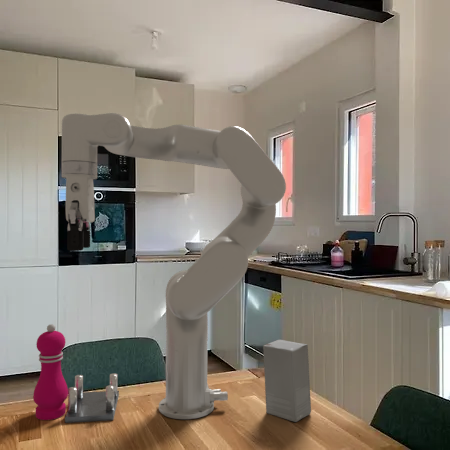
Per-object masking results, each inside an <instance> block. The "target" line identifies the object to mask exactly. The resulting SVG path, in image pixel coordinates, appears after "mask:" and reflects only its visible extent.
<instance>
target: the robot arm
mask: <svg viewBox="0 0 450 450" xmlns="http://www.w3.org/2000/svg"><path fill="white" fill-rule="evenodd" d="M99 146H100V147H104V149H106V150H107V151H108V152H110V153H112V154H115V155H119V156H126V157H131V158H136V159H137V158H138V159H146V160H153V161H154V160H155V161H165V162H176V163H183V164H184V163H185V164H189V165H198V166H204V167H207V168H208V167H209V168H216V169H223V170H230V172H231V173H232V175H234V176H235V177H234V178H236V179H237V180H238V183H239V184H241V185H240V195H241V199H242V206H241V209H240V212H239V213H238V215H237V216H236V217H234V219H233V220H232V221H231V222H230V223H229V224H228V225H227V227H225V228H224V229H223V230H222V231H221V232H220V233H219V234H218V235H217V236H215V238H213V240H211V241H210V242H208V243H207V245H206V246H205V247H204V248H203V249H202V252H201V255H200V257H199V258H197V260H195V262H194V263H193V264H192V265H191V266H190V267H189V268H188V269H184V270H183V269H182V270H181V271H178V272H176V273H174V274H173V275H172V276H170V278H169V280H168V282H167V284H166V287H165V288H166V289H165V318H166V319H165V323H166V324H165V331H166V332H165V397H164V398H162V399H161V400H160V401H159V403H158V411H159V412H160V414H161V415H163V416H165V417H167V418H170V419H176V420H193V419H194V420H195V419H199V418H203V417H205V416H207V415H209V414H211V413H212V412H213V411H214V409H215V408H214V407H215V403H214V402H215V401H220V402H222V401H228V398H229V395H228V391H221V388H217V389H211V388H209V384H208V339H209V327H208V326H209V325H208V324H209V321H208V313H209V312H210V311H212V309H214V308H215V306H216V305H217V304H218V303H219V302H221V300H222V299H223V298H224V297H225V296H226V295H228V293H230V291H232V289H233V288H235V286H237V285H238V283H240V281H241V280H242V278H244V277H245V276H244V275H245V274H246V273H247V270H248V267H249V257H250V256H251V255H252V254H253V253H254V252H255V251H256V250H257V249H258V248H259V246H260V245H261V244H262V243H264V241H265V240H266V239H267V237H268V236H269V235H270V233H271V231H272V229H273V227H274V224H275V220H276V215H277V214H276V213H277V206H276V205H277V204H278V203H279V202H280V201H281V200H282V199H283V197H284V196H285V194H286V190H287V184H286V179H285V177H284V175H283V174H282V171H281V170H279V168H278V166H277V165H276V164H275V163H274V162H273V161H272V159H271V158H270V157H269V156H268V154H267V152H265V151H264V149H263V148H262V147H261V146H260V144H259V143H258V142H257V141H256V140H255V138H254V137H253V136H252V135H251V134H250V133H249V132H248V131H246V130H245V129H244V128H242V127H240V126H236V125H235V126H234V125H231V126H228V127H227V126H226V127H225V128H223V129H221V130H218V129H210V128H206V127H199V126H192V125H187V124H182V123H181V124H174V125H170V126H166V127H160V128H159V127H158V128H151V127H142V126H135V125H131V123H130V122H129V120H128V119H127V117H125V116H123V115H122V114H119V113H116V112H109V113H108V112H107V113H106V112H105V113H100V114H91V115H90V114H86V113H85V114H84V113H68V114H66V115H64V116H63V117H62V121H61V178H62V179H65V180H66V183H65V219H66V221H67V222H68V224H67V231H66V235H67V236H66V238H67V239H66V249H67V250H68V251H83V250H84V249H85V248H86V249H87V248H88V249H89V248H90V247H91V230H90V229H91V227H90V226H91V225H90V223H93V222H95V220H96V216H95V215H96V214H95V188H94V187H95V186H94V180H97V179H98V147H99Z"/></svg>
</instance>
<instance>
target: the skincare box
mask: <svg viewBox="0 0 450 450" xmlns="http://www.w3.org/2000/svg"><path fill="white" fill-rule="evenodd" d="M262 347H263V348H262V349H263V366H264V367H263V369H264V371H263V372H264V389H265V390H264V391H265V392H264V393H265V410H266V411H265V412H266V414H268V415H273V416H276V417H278V418H281V419H284V420H287V421H290V422H293V423H297V422H299V421H301V420H302V419H304V418H305V417H307V416H309V415H311V413H312V405H311V404H312V403H311V401H312V399H311V384H310V368H309V367H310V366H309V364H310V363H309V345H308V344H307V343H299V342H295V341H289V340H285V339H281V338H280V339H277V340H274V341H271V342H269V343H266V344H264V345H262Z"/></svg>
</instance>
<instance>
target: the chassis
mask: <svg viewBox="0 0 450 450" xmlns="http://www.w3.org/2000/svg"><path fill="white" fill-rule="evenodd" d="M119 391H120V390H118V373H110V374H109V385H106V386H105V391H85V392H84V375H83V374H77V375H75V376H74V386H71V387H68V396H67V399H68V400H67V406H68V407H67V408H68V409H67V411H66V413H65V414H66V415H65V417H64V423H65V424H69V423H71V424H72V423H73V424H74V423H86V422H87V423H88V422H101V421H102V422H104V421H106V422H107V421H114V420H115V414H116V410H117V405H118V401H119V396H120V392H119Z"/></svg>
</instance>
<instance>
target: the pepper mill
mask: <svg viewBox="0 0 450 450" xmlns="http://www.w3.org/2000/svg"><path fill="white" fill-rule="evenodd" d="M46 327H47V328H46V330H47V331H44V332H42V333H41V334H40V335H39V336H38V338H37V339H36V344H35V345H36V349H37V351H39V352H40V353H39V355H38V357H39V358H38V361H39V362H40V366H41V367H40V375H39V378H38V381H37V383H36V384H35V387H34V390H33V394H32V395H33V397H32V399H33V401H34V403H35V404H36V405H37V406H36V407H35V418H36V419H37V420H41V421H50V420H56V419H59V418H61V417H63V416H64V415H65V414H67V411H66V410H67V408H66V407H67V405H66V403H65V401H66V400H67V399H68V389H69V387H68V385H67V382H66V379H65V378H64V375H63V372H62V360H63V359H64V356H63V354H64V352H63V349H64V348H65V346H66V337H65V335H64V334H63V333H62V332H60V331H57V330H56V325H55V324H53V323H50V324H48V325H47V326H46Z"/></svg>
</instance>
